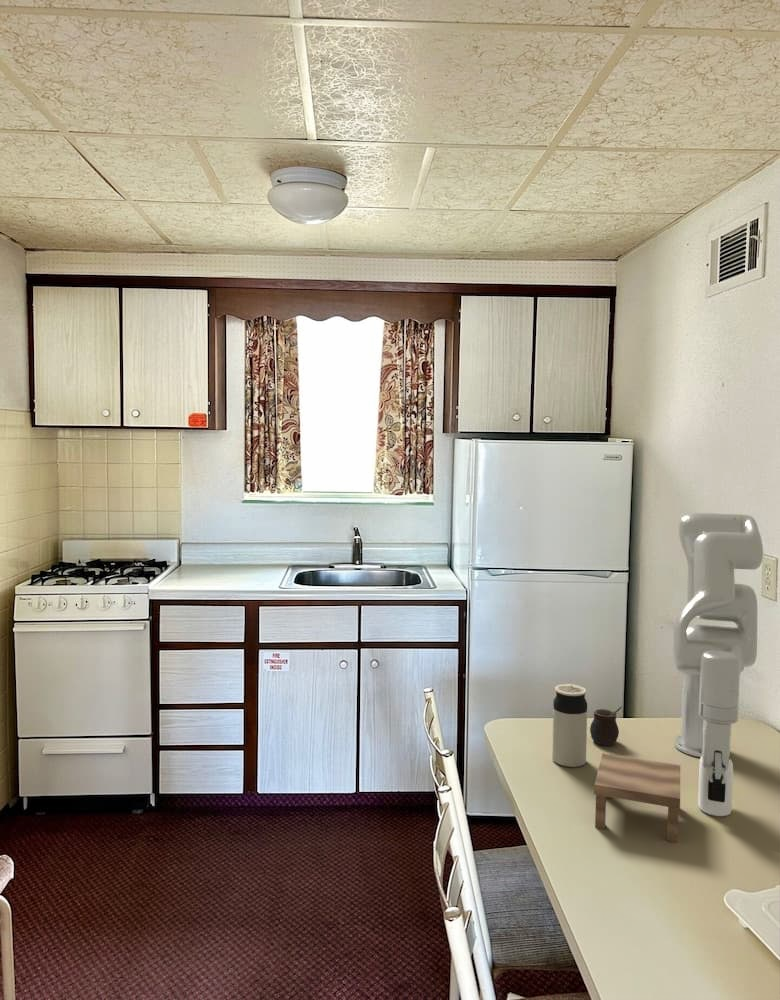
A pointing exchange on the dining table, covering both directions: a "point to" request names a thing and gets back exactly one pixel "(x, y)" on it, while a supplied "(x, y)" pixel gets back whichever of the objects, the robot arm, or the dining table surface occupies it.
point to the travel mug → (569, 725)
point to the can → (704, 804)
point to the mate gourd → (604, 727)
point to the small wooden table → (638, 786)
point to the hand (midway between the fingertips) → (715, 790)
